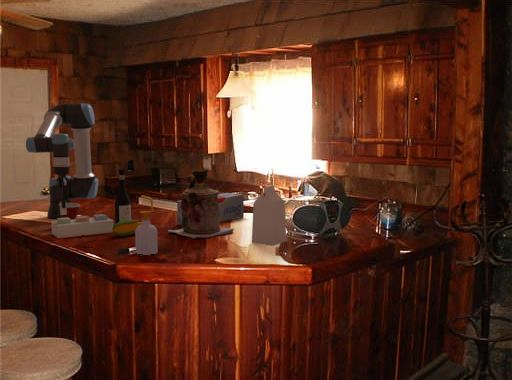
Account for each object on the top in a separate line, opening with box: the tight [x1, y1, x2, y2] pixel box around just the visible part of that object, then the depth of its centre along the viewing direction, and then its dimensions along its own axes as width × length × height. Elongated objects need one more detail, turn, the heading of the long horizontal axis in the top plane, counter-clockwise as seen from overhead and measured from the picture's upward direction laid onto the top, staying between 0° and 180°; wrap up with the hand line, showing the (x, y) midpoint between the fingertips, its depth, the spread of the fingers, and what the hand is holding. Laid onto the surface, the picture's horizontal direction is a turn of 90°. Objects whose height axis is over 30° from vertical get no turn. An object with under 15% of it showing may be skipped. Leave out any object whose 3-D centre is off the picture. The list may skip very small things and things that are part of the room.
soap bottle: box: [135, 194, 159, 256], centre depth 237 cm, size 9×9×25 cm
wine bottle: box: [114, 168, 132, 225], centre depth 297 cm, size 8×8×30 cm
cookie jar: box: [167, 168, 235, 239], centre depth 279 cm, size 25×25×32 cm
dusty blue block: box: [93, 213, 108, 221], centre depth 285 cm, size 5×5×5 cm
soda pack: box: [176, 192, 245, 226], centre depth 313 cm, size 41×13×14 cm, turn 139°
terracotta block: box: [76, 215, 90, 222], centre depth 280 cm, size 5×5×5 cm
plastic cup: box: [59, 202, 81, 220], centre depth 296 cm, size 11×11×12 cm
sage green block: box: [56, 217, 71, 224], centre depth 275 cm, size 5×5×5 cm
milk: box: [251, 184, 287, 247], centre depth 259 cm, size 12×12×26 cm
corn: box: [112, 219, 142, 237], centre depth 277 cm, size 7×8×20 cm
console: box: [50, 217, 115, 239], centre depth 280 cm, size 13×27×6 cm, turn 122°
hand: (63, 214), depth 274 cm, fingers closed
